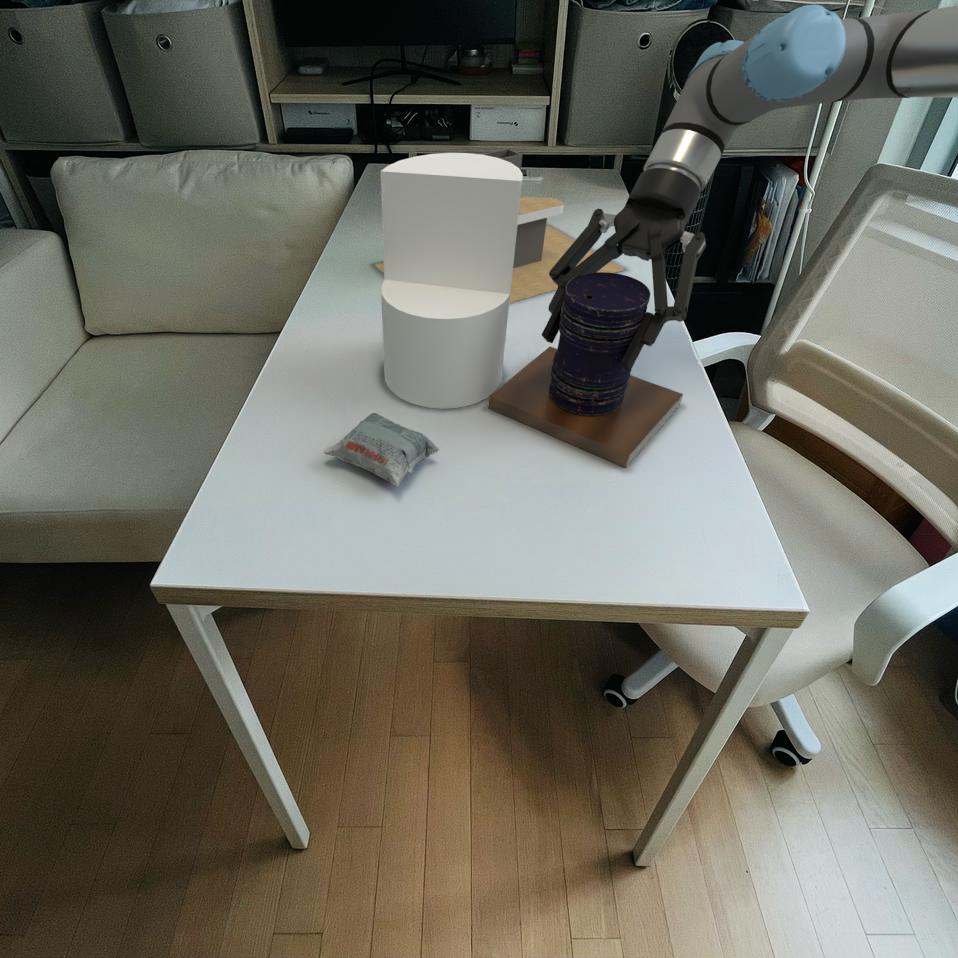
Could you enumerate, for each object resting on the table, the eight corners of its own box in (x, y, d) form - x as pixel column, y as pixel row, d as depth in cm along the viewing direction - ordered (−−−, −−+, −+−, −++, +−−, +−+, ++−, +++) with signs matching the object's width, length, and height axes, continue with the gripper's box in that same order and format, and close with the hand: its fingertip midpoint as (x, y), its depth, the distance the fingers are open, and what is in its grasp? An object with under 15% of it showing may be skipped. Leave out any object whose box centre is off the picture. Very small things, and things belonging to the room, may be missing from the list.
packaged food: (398, 501, 78) (398, 470, 75) (323, 463, 84) (320, 433, 81) (439, 462, 83) (440, 431, 80) (366, 429, 89) (364, 399, 86)
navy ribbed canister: (587, 365, 93) (608, 264, 83) (640, 399, 87) (670, 294, 77) (532, 388, 90) (547, 286, 80) (583, 425, 84) (606, 319, 73)
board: (679, 406, 89) (683, 393, 88) (625, 468, 81) (629, 455, 79) (548, 357, 99) (549, 346, 98) (488, 408, 91) (489, 396, 89)
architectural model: (542, 222, 136) (556, 116, 123) (625, 269, 119) (652, 152, 105) (374, 264, 126) (368, 154, 112) (438, 323, 108) (441, 200, 95)
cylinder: (404, 336, 106) (402, 149, 87) (512, 351, 101) (534, 157, 82) (367, 397, 94) (355, 196, 75) (487, 418, 89) (506, 208, 70)
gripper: (770, 217, 76) (677, 392, 79) (591, 181, 88) (515, 334, 90) (771, 184, 70) (671, 375, 72) (578, 149, 82) (497, 315, 84)
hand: (584, 352), depth 81 cm, fingers closed on navy ribbed canister, 10 cm apart
